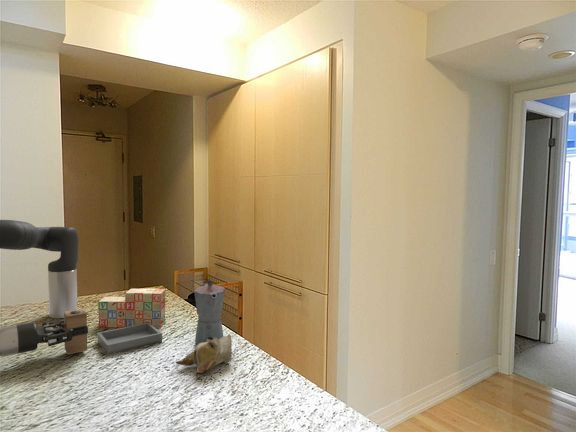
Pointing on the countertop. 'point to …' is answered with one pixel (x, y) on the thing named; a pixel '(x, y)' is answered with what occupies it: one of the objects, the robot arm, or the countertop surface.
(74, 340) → the walnut block
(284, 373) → the countertop surface
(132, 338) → the charcoal tray
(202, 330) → the moka pot
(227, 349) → the ceramic sculpture
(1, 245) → the robot arm
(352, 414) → the countertop surface
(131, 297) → the stack of blocks
